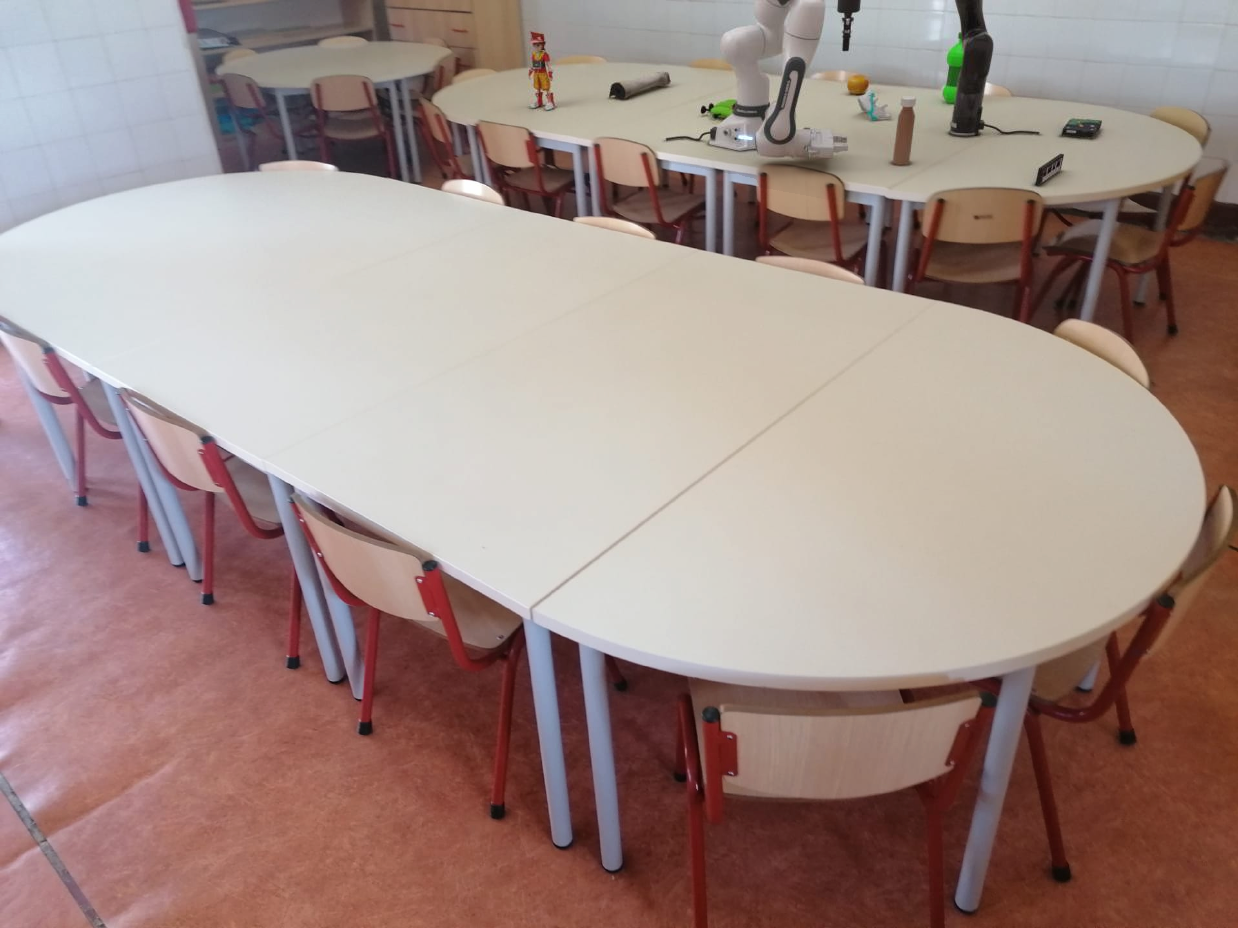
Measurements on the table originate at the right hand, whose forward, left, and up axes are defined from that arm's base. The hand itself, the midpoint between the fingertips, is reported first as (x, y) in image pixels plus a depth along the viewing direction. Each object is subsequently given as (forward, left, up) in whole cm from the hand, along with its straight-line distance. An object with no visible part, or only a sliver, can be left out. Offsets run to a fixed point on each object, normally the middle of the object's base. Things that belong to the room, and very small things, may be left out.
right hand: (845, 48), depth 309 cm
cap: (-20, +34, -9) cm, 40 cm away
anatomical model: (-12, -26, -29) cm, 41 cm away
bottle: (-20, +34, -29) cm, 49 cm away
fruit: (-7, -63, -29) cm, 70 cm away
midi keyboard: (-63, +48, -29) cm, 85 cm away
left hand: (-3, +35, -23) cm, 41 cm away
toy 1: (+123, -42, -29) cm, 134 cm away
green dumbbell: (-45, -48, -29) cm, 71 cm away
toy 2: (+38, -27, -29) cm, 55 cm away
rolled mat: (+86, -69, -29) cm, 114 cm away
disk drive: (-82, -3, -29) cm, 87 cm away
